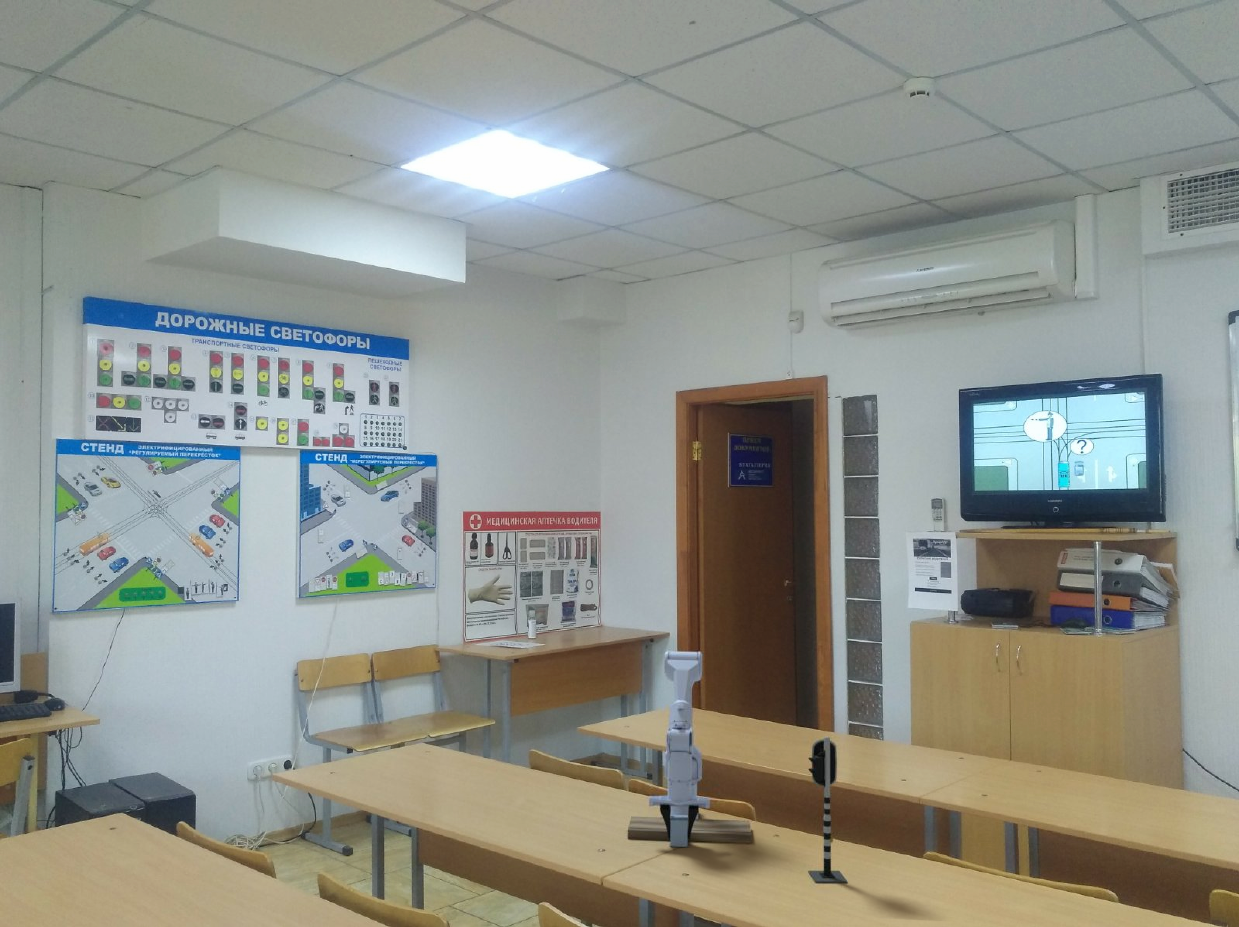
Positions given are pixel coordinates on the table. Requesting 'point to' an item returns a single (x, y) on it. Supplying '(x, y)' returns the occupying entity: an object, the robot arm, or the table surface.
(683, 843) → the light blue block
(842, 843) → the table surface
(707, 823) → the board
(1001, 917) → the table surface
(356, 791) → the table surface
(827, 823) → the miniature traffic light
